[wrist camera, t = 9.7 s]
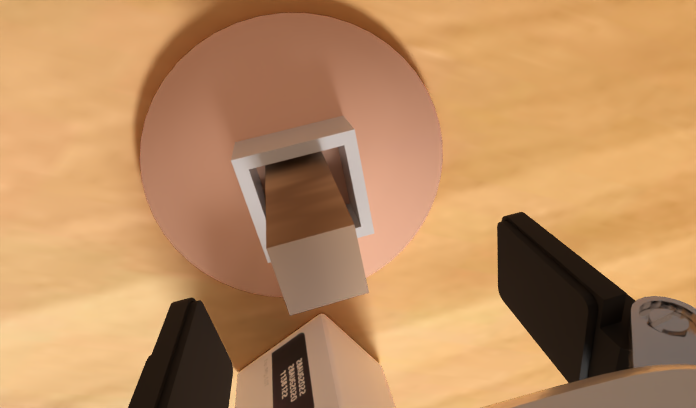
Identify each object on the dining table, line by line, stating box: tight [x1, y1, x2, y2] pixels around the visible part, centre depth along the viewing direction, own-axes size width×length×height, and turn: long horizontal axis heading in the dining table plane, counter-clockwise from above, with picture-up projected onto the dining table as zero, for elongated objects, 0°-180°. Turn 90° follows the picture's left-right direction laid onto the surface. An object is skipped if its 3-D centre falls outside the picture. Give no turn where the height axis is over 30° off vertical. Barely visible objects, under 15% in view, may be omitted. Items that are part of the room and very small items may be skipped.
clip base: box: [140, 13, 443, 297], centre depth 20 cm, size 16×16×4 cm
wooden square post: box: [265, 151, 369, 316], centre depth 16 cm, size 3×3×9 cm
